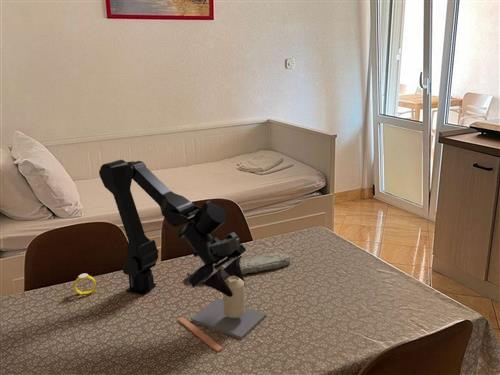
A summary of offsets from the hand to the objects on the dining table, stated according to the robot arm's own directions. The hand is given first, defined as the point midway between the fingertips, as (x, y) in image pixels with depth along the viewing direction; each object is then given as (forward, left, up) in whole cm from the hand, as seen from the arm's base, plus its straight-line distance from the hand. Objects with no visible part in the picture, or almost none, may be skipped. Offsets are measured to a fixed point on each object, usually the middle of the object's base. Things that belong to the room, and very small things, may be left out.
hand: (238, 291), depth 122 cm
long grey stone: (-11, +28, -10) cm, 31 cm away
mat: (-3, +1, -9) cm, 10 cm away
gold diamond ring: (-49, -2, -9) cm, 50 cm away
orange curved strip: (-7, -8, -9) cm, 14 cm away
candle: (-1, 0, -7) cm, 7 cm away
